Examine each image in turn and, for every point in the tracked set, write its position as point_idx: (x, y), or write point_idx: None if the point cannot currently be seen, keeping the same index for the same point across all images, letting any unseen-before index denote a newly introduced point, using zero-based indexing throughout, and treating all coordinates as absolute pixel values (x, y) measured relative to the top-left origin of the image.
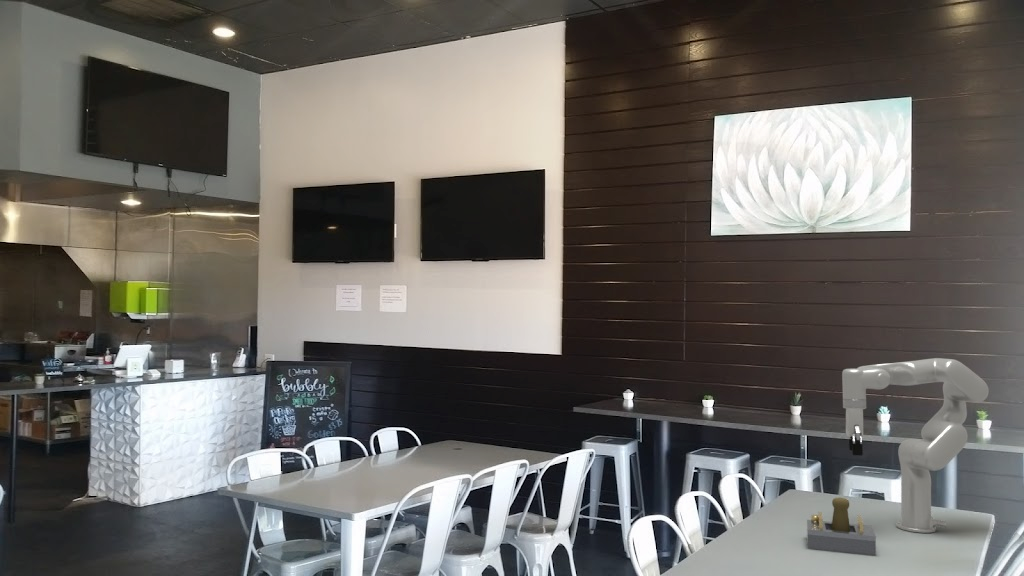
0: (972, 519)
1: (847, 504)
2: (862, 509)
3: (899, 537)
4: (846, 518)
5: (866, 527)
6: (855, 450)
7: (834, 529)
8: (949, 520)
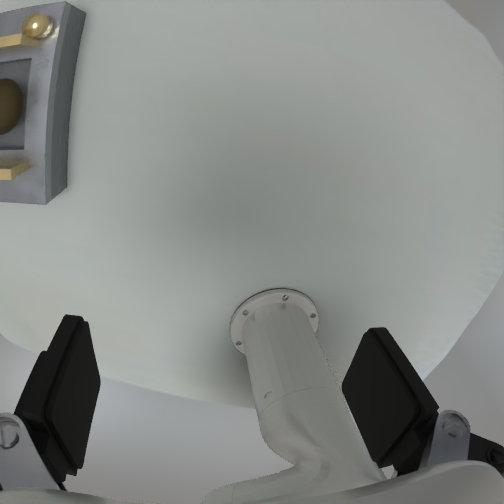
0: None
1: None
2: (444, 244)
3: (168, 272)
4: None
5: (18, 186)
6: (34, 365)
7: None
8: None
